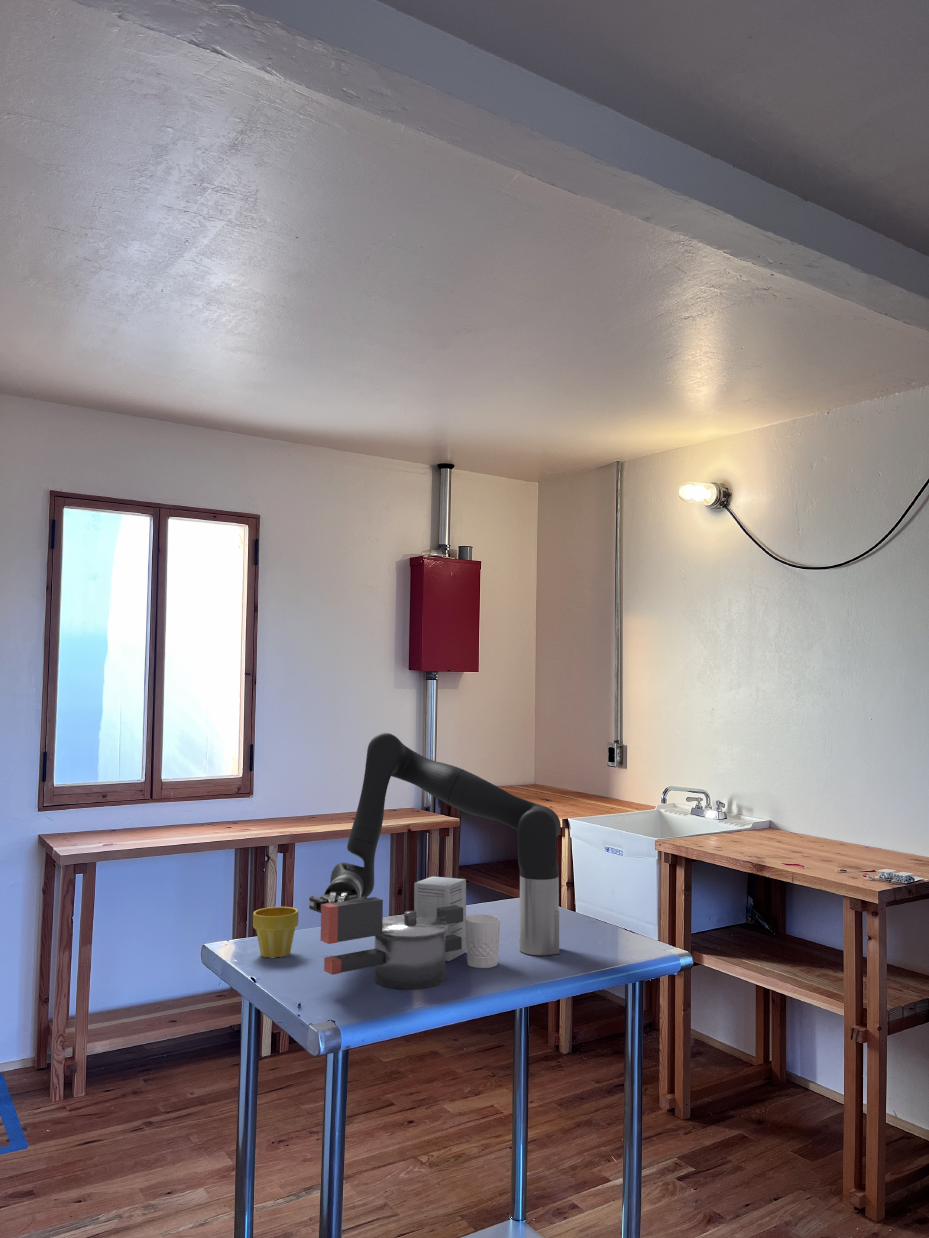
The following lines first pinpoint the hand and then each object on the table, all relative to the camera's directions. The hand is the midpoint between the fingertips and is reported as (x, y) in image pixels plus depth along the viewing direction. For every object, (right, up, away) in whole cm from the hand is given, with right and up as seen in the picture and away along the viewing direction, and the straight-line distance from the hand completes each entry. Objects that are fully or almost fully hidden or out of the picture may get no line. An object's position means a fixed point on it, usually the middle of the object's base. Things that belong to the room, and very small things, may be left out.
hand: (332, 912), depth 186 cm
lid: (+12, -6, +6) cm, 15 cm away
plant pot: (-17, -18, +25) cm, 35 cm away
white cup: (+31, -18, +18) cm, 40 cm away
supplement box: (+21, -18, +26) cm, 38 cm away
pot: (+12, -16, +5) cm, 21 cm away
